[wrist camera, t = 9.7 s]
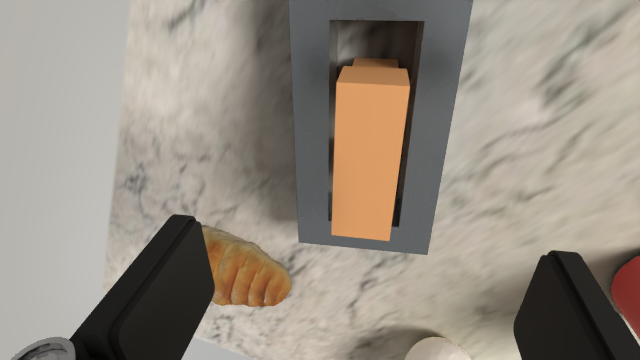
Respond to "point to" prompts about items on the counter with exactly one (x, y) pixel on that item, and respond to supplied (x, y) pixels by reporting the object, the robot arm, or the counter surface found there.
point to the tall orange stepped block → (368, 146)
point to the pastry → (244, 271)
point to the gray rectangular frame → (422, 118)
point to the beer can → (628, 292)
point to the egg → (436, 350)
